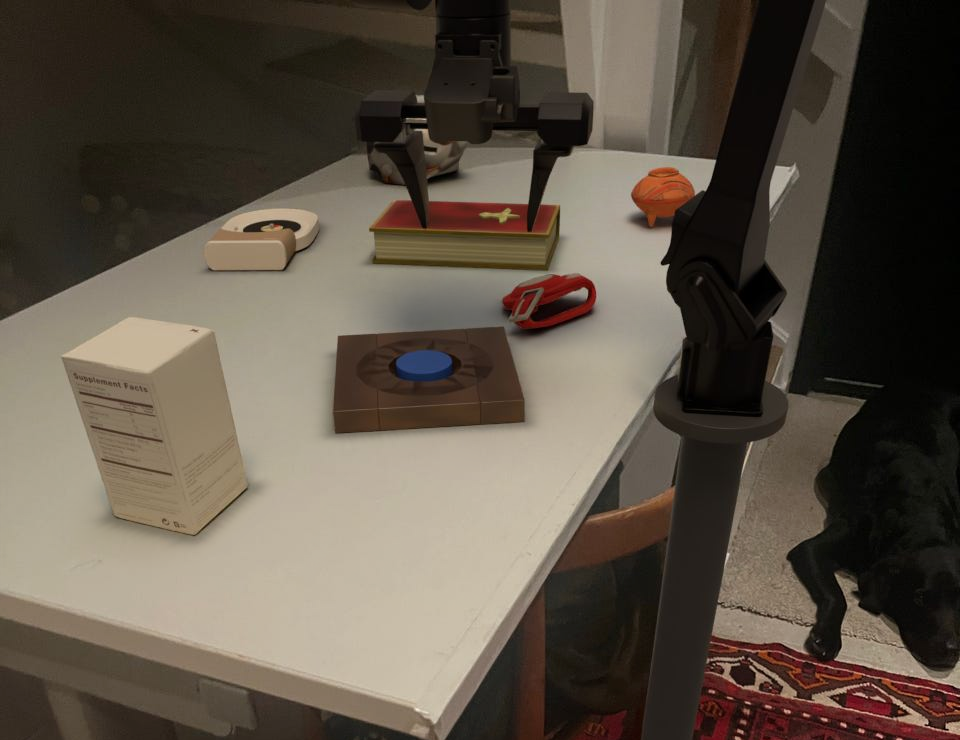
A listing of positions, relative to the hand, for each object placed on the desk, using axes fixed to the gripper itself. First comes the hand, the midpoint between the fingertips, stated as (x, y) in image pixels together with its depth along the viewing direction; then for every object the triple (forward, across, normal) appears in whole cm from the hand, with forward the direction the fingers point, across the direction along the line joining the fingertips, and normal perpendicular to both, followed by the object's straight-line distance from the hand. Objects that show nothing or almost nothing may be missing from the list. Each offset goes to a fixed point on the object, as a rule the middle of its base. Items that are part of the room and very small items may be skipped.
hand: (477, 229), depth 80 cm
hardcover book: (+12, -7, +32) cm, 35 cm away
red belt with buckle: (+12, +4, +12) cm, 18 cm away
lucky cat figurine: (+12, -20, +64) cm, 68 cm away
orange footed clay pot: (+16, +2, +37) cm, 40 cm away
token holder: (+12, -4, -6) cm, 14 cm away
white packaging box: (+12, -18, -28) cm, 35 cm away
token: (+12, -4, -6) cm, 14 cm away
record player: (+12, -33, +32) cm, 47 cm away
